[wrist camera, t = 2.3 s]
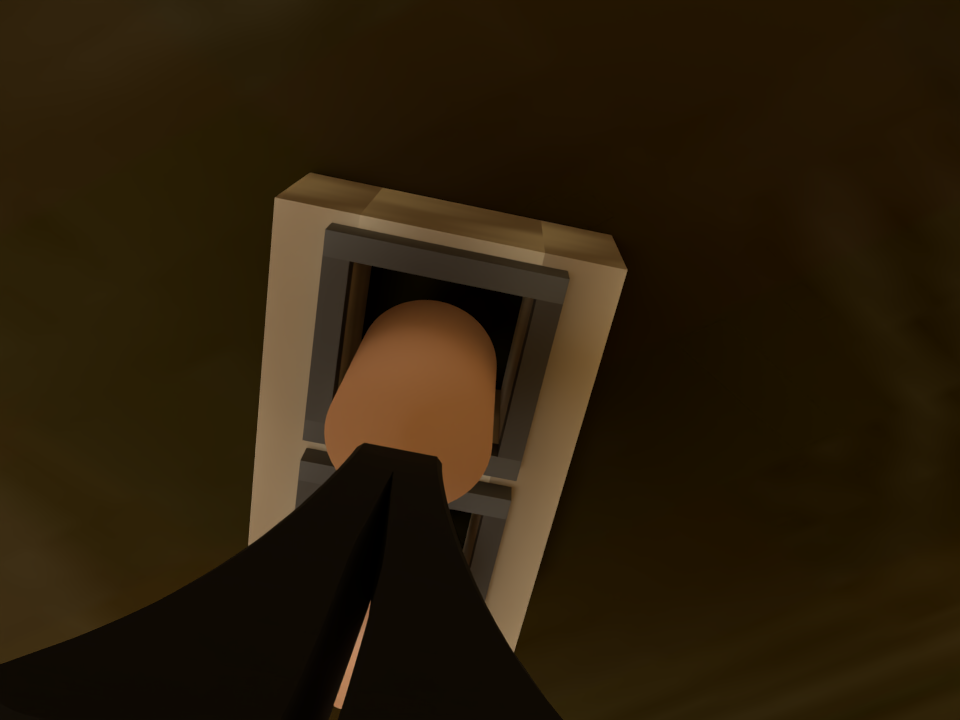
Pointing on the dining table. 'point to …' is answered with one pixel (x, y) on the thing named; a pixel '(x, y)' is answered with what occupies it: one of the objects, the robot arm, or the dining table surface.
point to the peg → (420, 391)
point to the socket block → (518, 405)
